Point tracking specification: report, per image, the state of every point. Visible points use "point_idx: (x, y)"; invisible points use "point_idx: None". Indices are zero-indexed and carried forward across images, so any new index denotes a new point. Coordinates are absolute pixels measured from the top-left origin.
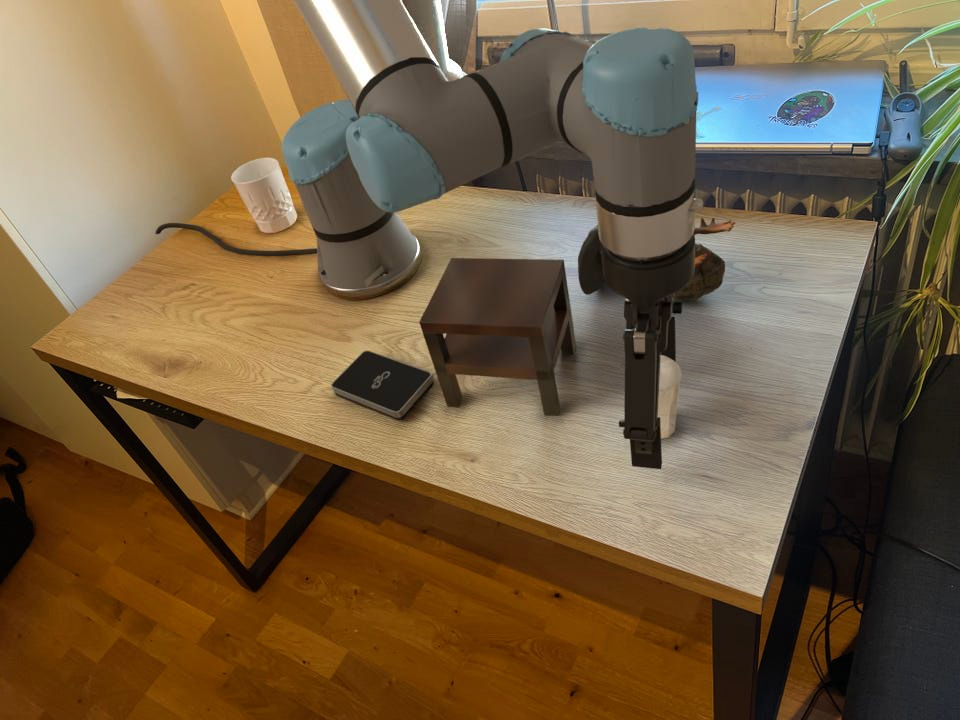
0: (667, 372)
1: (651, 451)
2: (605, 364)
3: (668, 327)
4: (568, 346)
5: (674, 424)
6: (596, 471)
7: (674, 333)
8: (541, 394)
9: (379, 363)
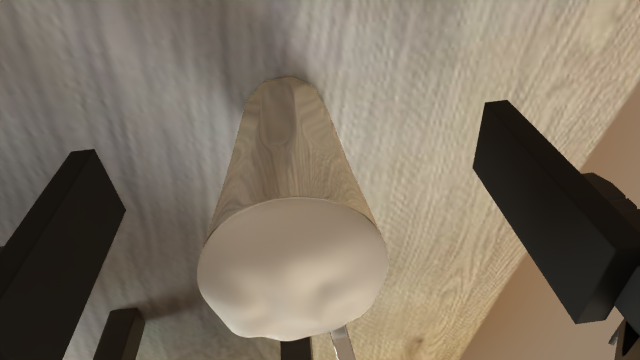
0: (323, 271)
1: (606, 182)
2: (130, 257)
3: (16, 310)
4: (133, 336)
5: (296, 90)
6: (431, 196)
7: (20, 266)
8: (312, 353)
9: None
